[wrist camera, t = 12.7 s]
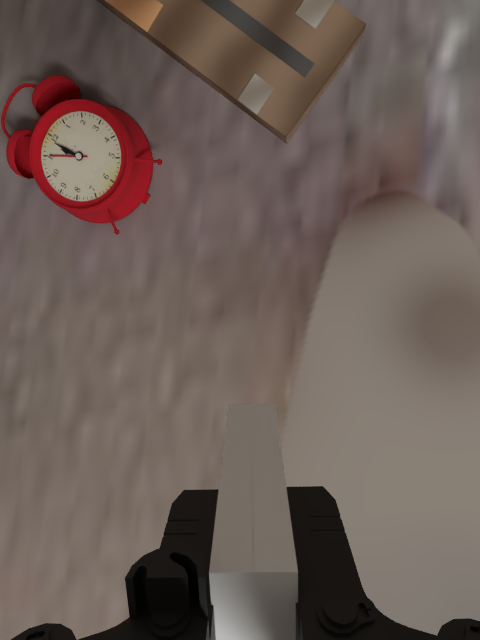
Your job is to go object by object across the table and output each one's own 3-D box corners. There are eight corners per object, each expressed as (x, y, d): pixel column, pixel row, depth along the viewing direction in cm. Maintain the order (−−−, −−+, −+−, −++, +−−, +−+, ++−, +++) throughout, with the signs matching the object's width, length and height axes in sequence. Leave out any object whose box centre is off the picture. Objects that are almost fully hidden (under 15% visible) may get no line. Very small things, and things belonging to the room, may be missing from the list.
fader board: (362, 37, 34) (366, 22, 32) (286, 143, 36) (285, 136, 34) (132, -132, 34) (121, -157, 32) (71, -19, 36) (57, -36, 34)
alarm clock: (109, 251, 36) (-55, 145, 33) (126, 244, 42) (-12, 154, 39) (173, 145, 34) (3, 23, 31) (181, 154, 40) (39, 53, 37)
